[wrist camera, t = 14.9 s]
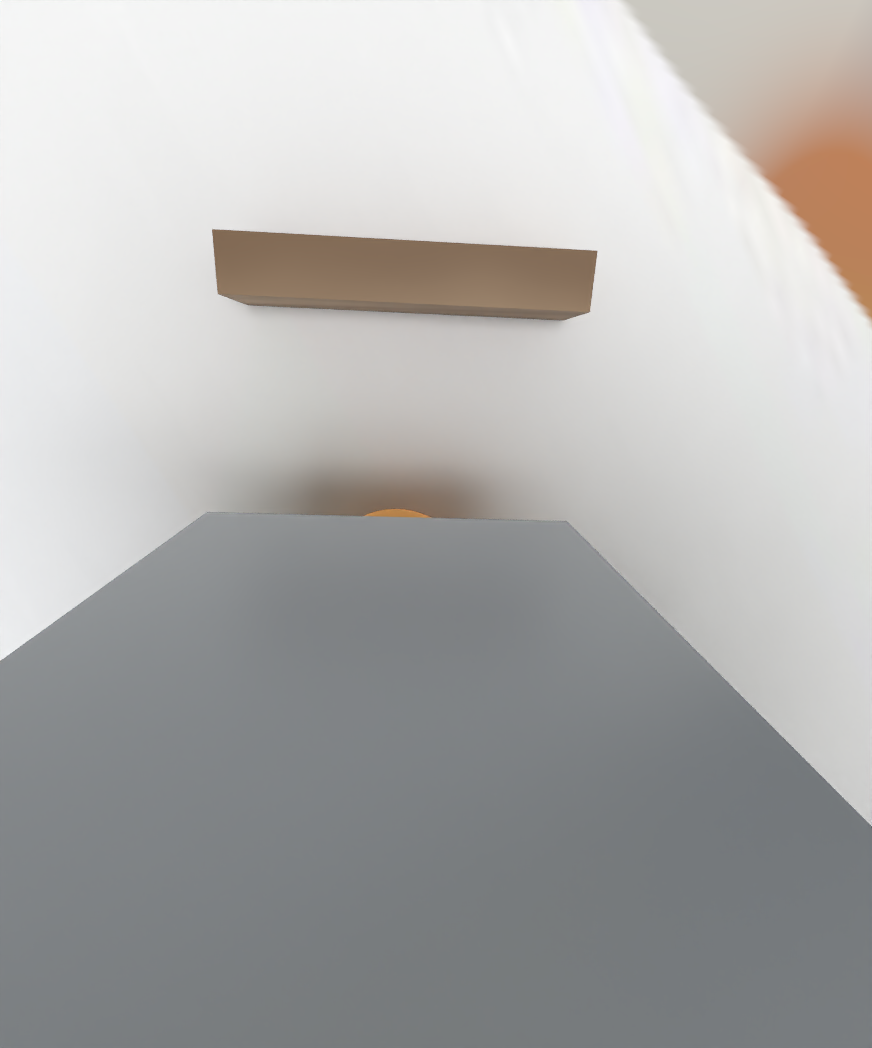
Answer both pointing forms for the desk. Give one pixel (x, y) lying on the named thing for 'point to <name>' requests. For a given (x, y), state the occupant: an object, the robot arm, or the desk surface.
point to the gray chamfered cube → (409, 809)
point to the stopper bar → (403, 275)
